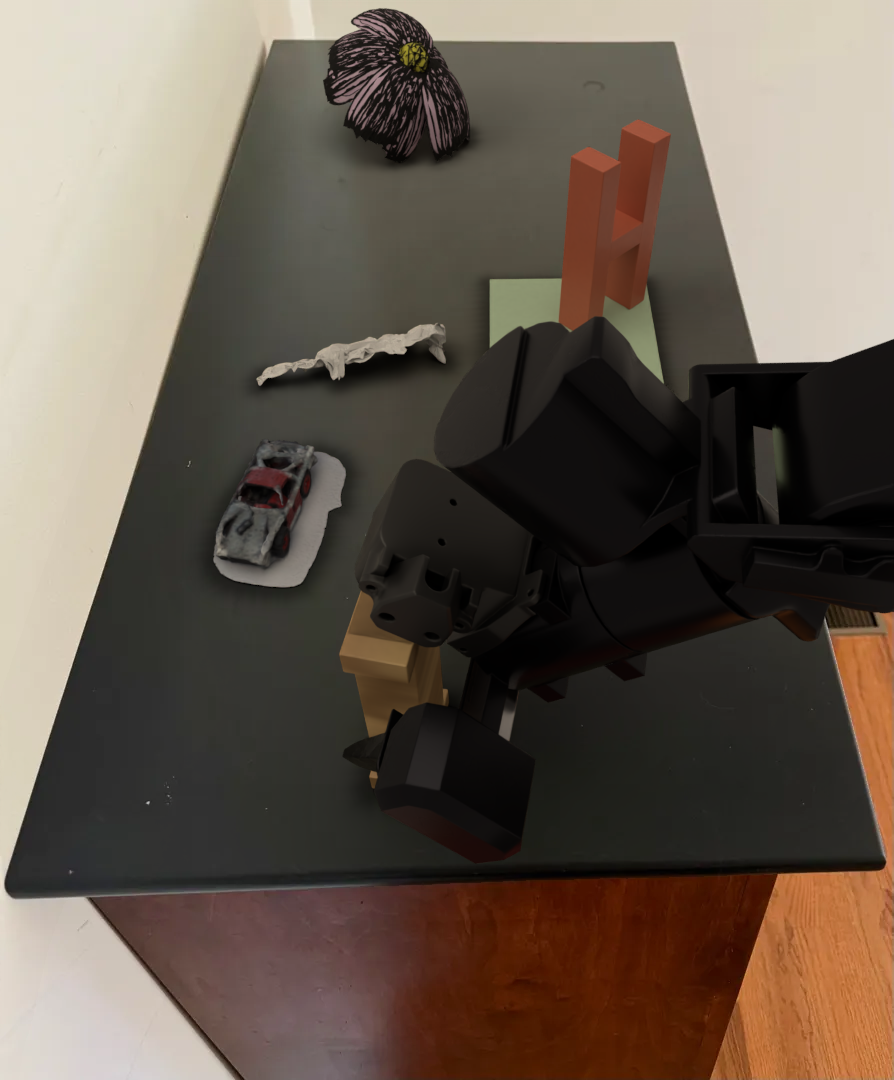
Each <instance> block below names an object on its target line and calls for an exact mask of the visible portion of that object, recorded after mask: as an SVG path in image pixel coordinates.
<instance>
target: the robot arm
mask: <svg viewBox="0 0 894 1080" xmlns="http://www.w3.org/2000/svg"><path fill="white" fill-rule="evenodd" d="M687 374H688V375H687V399H685V400H684V401H682V400H681V399H680V398H679V397H678V396H677V395H676V394H675V393H674V392H673V391H671V389H670V388H669V387H668V386H666V384H665V383H664V384H663V383H662V382H661V381H660V380H659V379H658V378H657V377H656V376H655V375H654V374H653V373H652V372H651V371H650V370H649V369H648V368H647V367H646V366H645V365H644V364H643V363H642V362H641V360H640V359H639V358H638V357H637V355H636V353H635V351H634V350H633V348H632V346H631V344H630V343H629V341H628V340H627V339H626V338H625V337H624V336H623V335H622V334H621V333H620V332H619V331H618V330H617V329H616V328H615V327H614V326H613V325H612V324H611V323H610V322H609V321H608V320H607V319H606V318H605V317H601V316H594V317H593V318H591V319H590V320H588V321H587V322H585V323H584V324H582V325H581V326H579V327H578V328H576V329H575V330H573V331H572V332H570V331H568V330H567V329H566V328H565V327H564V326H563V325H562V324H561V323H557V322H553V321H549V322H542V323H538V324H535V325H533V326H531V327H528V328H526V329H524V328H523V327H522V326H519V327H517V328H515V329H514V330H512V331H510V332H509V333H507V334H506V335H505V336H503V337H502V338H501V339H500V340H499V341H497V342H496V343H495V344H494V345H492V346H491V347H490V346H489V348H488V349H487V350H486V351H485V352H484V353H483V354H482V355H481V356H480V357H479V358H478V359H477V360H476V361H475V362H474V364H472V366H471V367H470V369H469V370H468V371H467V372H466V373H465V374H464V376H463V377H462V378H461V380H460V381H459V383H458V384H457V385H456V387H455V389H454V390H453V391H452V393H451V394H450V397H449V398H448V400H447V402H446V404H445V406H444V408H443V409H442V412H441V415H440V417H439V420H438V422H437V424H436V428H435V432H434V436H433V453H434V456H435V459H436V460H437V462H439V463H440V464H441V466H442V467H441V466H439V465H437V464H434V463H432V462H430V461H428V460H425V459H419V458H414V459H410V460H407V461H405V462H404V463H402V465H401V466H400V468H399V470H398V471H397V473H396V475H394V477H393V479H392V481H391V482H390V484H389V486H388V487H387V489H386V490H385V492H384V493H383V495H382V497H381V499H380V500H379V502H378V503H377V505H376V507H375V508H374V511H373V513H372V515H371V521H370V524H369V526H368V529H367V532H366V535H365V537H364V541H363V543H362V546H361V549H360V551H359V552H358V553H359V554H358V555H357V558H356V560H355V563H354V570H353V571H354V577H355V580H356V582H357V584H358V589H359V590H360V592H361V591H362V592H364V593H366V594H368V595H369V596H370V597H371V598H372V600H373V603H374V605H373V608H372V611H371V614H370V618H371V620H372V621H373V622H374V624H375V625H376V626H377V627H378V628H380V629H382V630H384V631H387V632H389V633H392V634H394V635H396V636H399V637H401V638H403V639H406V640H408V641H411V642H413V643H415V644H418V645H420V646H422V647H438V646H440V647H441V646H442V645H443V644H444V643H446V644H447V645H448V646H450V647H451V648H453V649H454V650H455V651H457V652H459V653H460V654H461V655H463V656H464V657H465V658H468V659H469V658H470V660H469V664H468V668H467V671H466V677H465V679H464V680H465V681H464V685H463V689H462V693H461V697H460V701H459V706H458V707H453V706H449V705H448V706H444V705H438V704H433V703H428V702H426V703H423V704H420V705H416V706H413V707H410V708H408V710H407V711H406V712H405V713H404V715H403V714H402V713H400V712H398V711H397V710H395V709H392V711H391V714H390V717H389V721H388V724H387V728H386V731H385V733H382V734H379V735H376V736H373V737H370V738H369V737H367V738H364V739H361V740H358V741H355V742H354V743H353V744H351V745H349V746H347V747H345V748H344V749H343V752H342V755H341V756H342V757H341V758H343V759H345V760H346V761H348V762H350V763H351V764H353V765H355V766H357V767H360V768H363V769H365V770H368V771H370V772H371V771H374V772H377V776H378V778H377V781H376V785H375V788H373V792H374V795H375V798H376V801H377V804H378V807H379V810H380V812H381V813H383V814H385V815H387V816H389V817H391V818H393V819H395V820H396V821H398V822H399V823H401V824H403V825H405V826H407V827H409V828H410V829H412V830H414V831H416V832H417V833H418V834H419V833H420V835H423V836H425V837H427V838H428V839H430V840H432V841H434V842H435V843H437V844H439V845H440V846H443V847H444V848H446V849H448V850H450V851H451V852H453V853H455V854H457V855H459V856H460V857H462V858H464V859H466V860H467V861H470V862H471V863H473V864H475V865H477V864H484V863H493V862H500V861H505V860H507V859H509V858H511V857H513V856H514V855H516V854H518V853H520V852H521V851H522V844H523V840H524V839H523V838H524V834H525V827H526V822H527V816H528V811H529V805H530V800H531V794H532V788H533V782H534V776H535V770H536V762H537V761H536V760H537V759H536V757H534V756H532V755H530V754H529V753H528V752H526V751H524V750H523V749H522V748H520V747H518V746H517V745H516V744H514V743H513V742H511V737H512V731H513V726H514V720H515V717H516V716H515V715H516V710H517V705H518V700H519V694H520V691H522V690H525V689H527V690H529V691H530V692H532V694H535V695H536V696H537V697H539V698H540V699H542V700H543V701H544V702H545V703H547V704H549V703H554V702H557V701H561V700H563V699H566V698H567V691H568V686H569V679H570V677H571V676H575V675H579V674H582V673H585V672H588V671H591V670H595V669H599V668H602V667H605V668H606V669H608V670H609V671H610V672H611V673H613V674H614V675H615V676H617V678H619V679H620V680H622V681H623V682H627V681H632V680H635V679H638V678H642V677H645V676H646V669H647V660H648V653H651V652H655V651H658V650H661V649H664V648H667V647H671V646H674V645H679V644H681V643H684V642H687V641H691V640H695V639H698V638H700V637H704V636H708V635H711V634H715V633H717V632H721V631H724V630H728V629H731V628H734V627H738V626H741V625H744V624H748V623H751V622H754V621H757V620H760V619H765V618H768V617H773V618H774V619H776V620H777V621H778V622H779V623H780V624H781V625H782V626H783V627H785V628H786V629H787V630H788V631H790V633H791V634H792V635H794V636H796V637H797V638H798V639H799V640H800V641H803V642H807V643H809V642H814V641H817V640H818V639H819V637H820V636H821V631H822V629H823V626H824V624H825V623H824V622H825V619H826V615H827V613H828V610H829V608H830V607H831V605H833V606H837V607H842V608H844V609H845V608H846V609H849V610H854V611H860V612H867V613H873V614H874V613H875V614H876V613H879V614H890V613H894V338H893V339H890V340H886V341H884V342H881V343H879V344H876V345H872V346H870V347H867V348H864V349H861V350H859V351H856V352H853V353H851V354H847V355H845V356H842V357H838V358H836V359H833V360H831V361H797V362H796V361H795V362H794V361H793V362H750V363H749V362H747V363H745V362H743V363H740V362H739V363H702V364H701V363H699V364H695V365H693V366H692V367H690V368H689V370H688V373H687ZM755 427H756V428H760V429H764V430H769V431H772V443H773V456H774V457H773V458H774V472H775V485H776V497H777V499H776V501H777V508H778V509H776V508H775V507H774V506H773V505H772V504H771V503H770V502H769V501H768V500H767V499H766V498H765V497H764V496H763V495H762V494H761V493H760V492H759V491H758V486H757V469H756V467H757V466H756V452H755V451H756V450H755V434H754V431H755V430H754V428H755ZM443 467H444V468H443Z"/></svg>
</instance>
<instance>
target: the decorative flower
mask: <svg viewBox="0 0 894 1080" xmlns="http://www.w3.org/2000/svg"><path fill="white" fill-rule="evenodd" d="M350 23H351V25H353V26H355V27H356V28H358V29H357V30H354V31H352V32H348V33H347V34H344V35H343V36H341V37H339V38H338V39H336V40H335V41H334V42H333V44H332V45H331V46H330V47H329V48H328V49H327V50H328V53H327V56H328V65H329V67H328V68H327V72H326V73H327V74H326V77H325V78H324V79H322V84H323V89H324V95H325V97H326V100H327V102H328V104H330V105H333V106H343V105H346V104H348V103H350V104H349V107H348V108H347V111H346V113H345V116H344V121H343V123H342V124H343V125H342V127H346V128H347V129H351V130H352V132H353V133H354V136H355V139H358V138H359V137H360V138H361V139H362V140H363V141H364V143H366V142H368V141H369V142H371V143H372V144H374V145H380V146H382V147H381V149H382V150H383V151H384V152H385V156H384V159H386V160H389V161H392V162H394V163H398V164H401V163H404V162H405V161H406V160H408V159H409V158H410V157H411V156H412V155H413V153H414V152H415V151H416V150H417V148H418V145H419V144H420V142H421V140H422V139H423V136H424V133H425V130H426V129H427V137H428V139H429V146H430V150H431V152H432V154H433V157H434V160H435V162H436V163H438V162H439V161H440V160H442V159H443V157H444V156H445V157H446V156H448V157H453V154H454V152H457V151H459V147H460V146H461V145H462V144H463V143H464V141H465V140H467V141H470V139H471V119H470V113H469V108H468V107H469V106H468V104H467V99H466V96H465V95H464V91H463V89H462V87H461V84H460V82H459V81H458V79H457V78H456V76H455V74H453V72H452V71H451V70H450V69H449V66H448V64H447V62H446V60H445V58H444V57H443V55H442V53H441V52H440V50H439V49H437V47H436V46H435V45H434V40H433V36H432V35H431V34H430V33H429V31H428V30H427V28H426V27H425V26H424V25H423V24H422V23H421V22H420V21H418V20H417V19H416V18H415V17H414V16H411V15H410V14H408V13H405V12H404V11H400V10H398V9H394V8H387V7H386V8H385V7H383V8H381V7H379V8H373V9H368V10H365V11H363V12H361V13H358V14H356V16H354V17H353V18H352V19H350Z"/></svg>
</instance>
